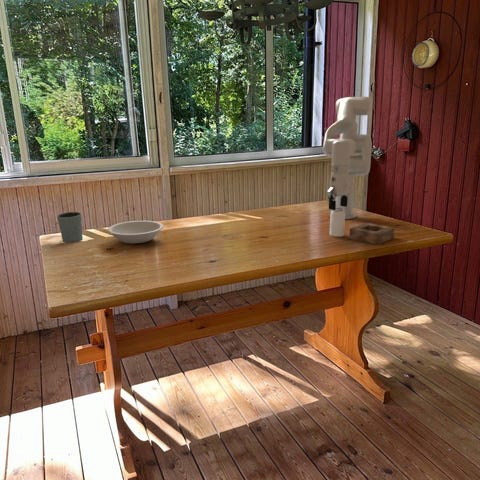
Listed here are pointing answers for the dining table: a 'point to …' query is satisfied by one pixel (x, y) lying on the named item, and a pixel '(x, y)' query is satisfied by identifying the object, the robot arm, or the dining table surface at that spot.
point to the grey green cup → (70, 226)
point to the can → (337, 222)
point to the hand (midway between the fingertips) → (337, 207)
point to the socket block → (371, 233)
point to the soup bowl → (135, 231)
